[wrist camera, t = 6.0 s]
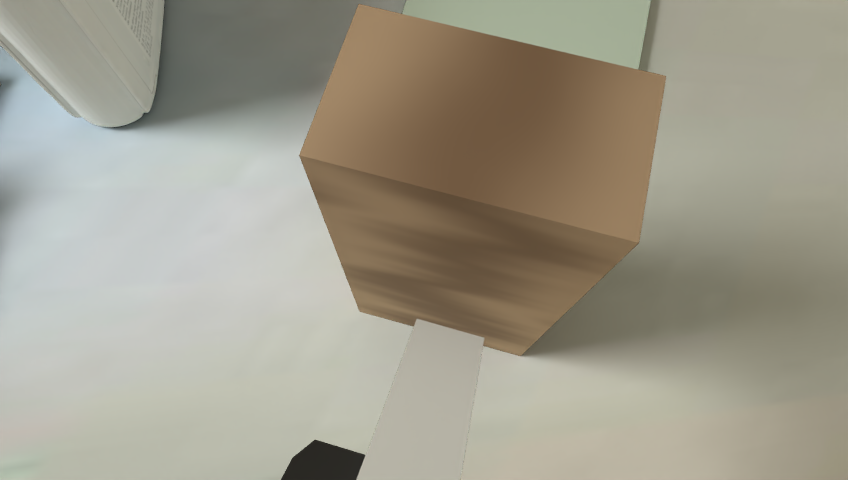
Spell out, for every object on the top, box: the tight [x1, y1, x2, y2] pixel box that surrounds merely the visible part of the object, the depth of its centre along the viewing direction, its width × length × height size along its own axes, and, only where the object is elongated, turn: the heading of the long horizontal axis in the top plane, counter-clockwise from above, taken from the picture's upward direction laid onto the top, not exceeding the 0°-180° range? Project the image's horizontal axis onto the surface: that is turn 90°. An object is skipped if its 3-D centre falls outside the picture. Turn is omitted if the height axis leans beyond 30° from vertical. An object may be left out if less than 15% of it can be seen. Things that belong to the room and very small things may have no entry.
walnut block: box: [299, 4, 666, 356], centre depth 19 cm, size 7×4×14 cm, turn 75°
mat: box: [402, 0, 651, 69], centre depth 29 cm, size 12×16×1 cm
